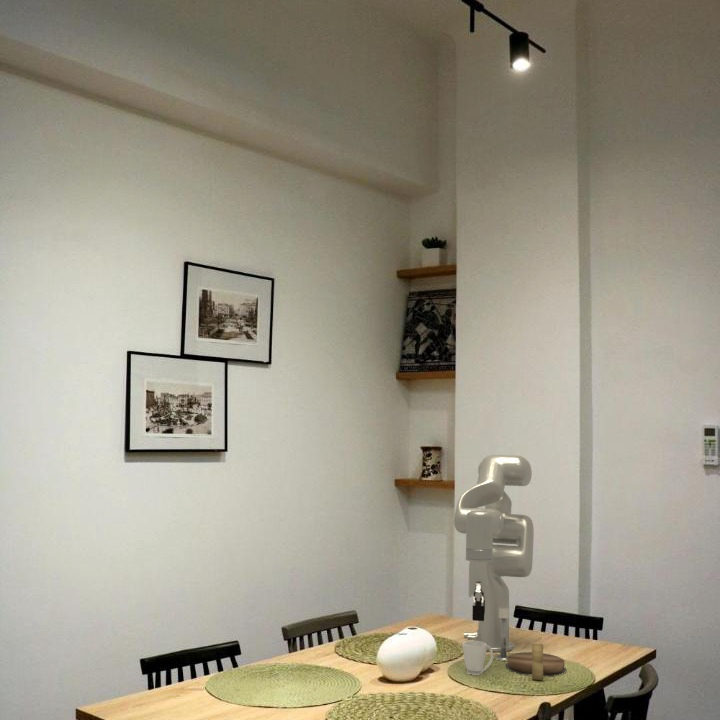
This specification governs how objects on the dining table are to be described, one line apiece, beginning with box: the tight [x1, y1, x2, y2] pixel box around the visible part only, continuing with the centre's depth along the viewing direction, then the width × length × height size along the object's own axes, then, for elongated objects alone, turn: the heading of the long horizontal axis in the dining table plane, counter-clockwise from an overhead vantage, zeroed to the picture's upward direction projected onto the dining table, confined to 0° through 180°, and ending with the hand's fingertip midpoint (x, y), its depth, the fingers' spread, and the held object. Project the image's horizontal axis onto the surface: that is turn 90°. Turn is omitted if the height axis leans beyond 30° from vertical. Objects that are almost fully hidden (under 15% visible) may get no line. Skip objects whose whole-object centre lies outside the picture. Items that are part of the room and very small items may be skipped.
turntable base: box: [505, 662, 567, 677], centre depth 244 cm, size 17×17×1 cm
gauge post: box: [494, 607, 510, 661], centre depth 254 cm, size 5×5×15 cm
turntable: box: [506, 642, 565, 681], centre depth 241 cm, size 22×16×9 cm
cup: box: [461, 640, 494, 676], centre depth 239 cm, size 7×10×8 cm
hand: (478, 617), depth 239 cm, fingers open, 9 cm apart
